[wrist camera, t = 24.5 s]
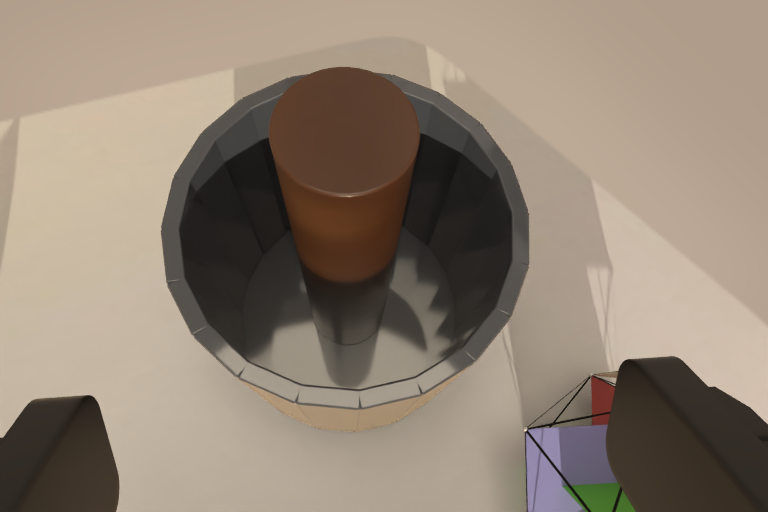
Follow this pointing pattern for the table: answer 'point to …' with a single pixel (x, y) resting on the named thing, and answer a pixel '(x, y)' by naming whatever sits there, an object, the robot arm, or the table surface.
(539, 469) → the geometric puzzle
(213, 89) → the table surface
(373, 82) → the cylinder
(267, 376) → the tin
